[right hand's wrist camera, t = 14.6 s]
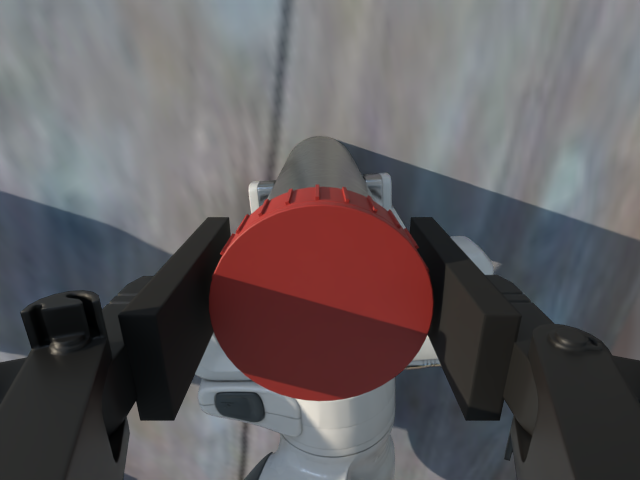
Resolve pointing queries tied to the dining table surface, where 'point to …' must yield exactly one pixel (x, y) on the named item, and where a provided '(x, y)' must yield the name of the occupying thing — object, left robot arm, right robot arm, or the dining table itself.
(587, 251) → the dining table surface
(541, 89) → the dining table surface
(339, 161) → the jar
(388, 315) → the lid
